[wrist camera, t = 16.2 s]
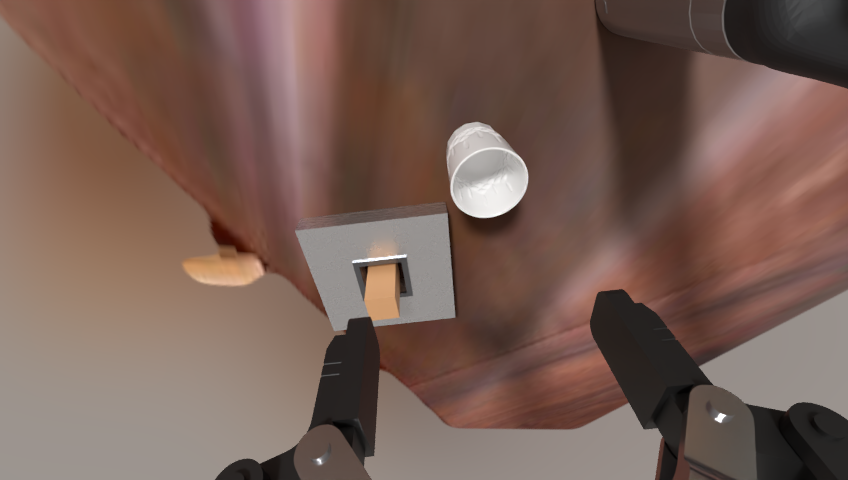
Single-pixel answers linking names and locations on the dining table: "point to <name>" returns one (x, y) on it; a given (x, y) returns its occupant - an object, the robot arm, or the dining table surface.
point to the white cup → (484, 171)
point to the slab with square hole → (381, 260)
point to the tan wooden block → (383, 291)
